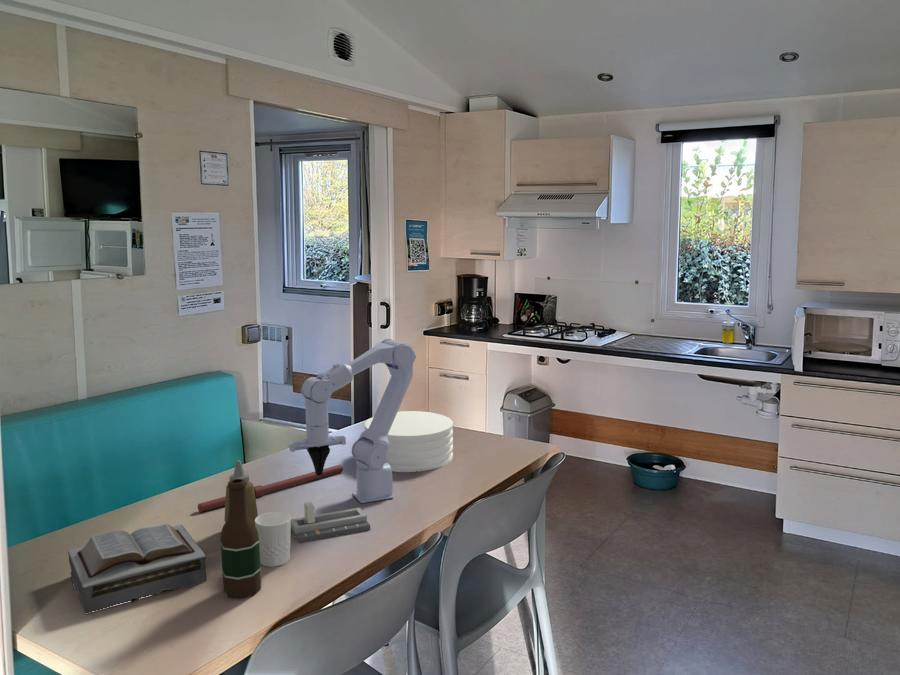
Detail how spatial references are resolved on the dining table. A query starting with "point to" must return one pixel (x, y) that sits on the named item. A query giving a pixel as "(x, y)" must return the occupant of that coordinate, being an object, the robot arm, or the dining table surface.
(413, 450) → the plate stack
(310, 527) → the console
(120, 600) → the bible
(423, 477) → the dining table surface
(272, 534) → the white cup
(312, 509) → the fader
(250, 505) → the squeeze bottle
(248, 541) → the sauce bottle
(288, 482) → the red long thin rod
